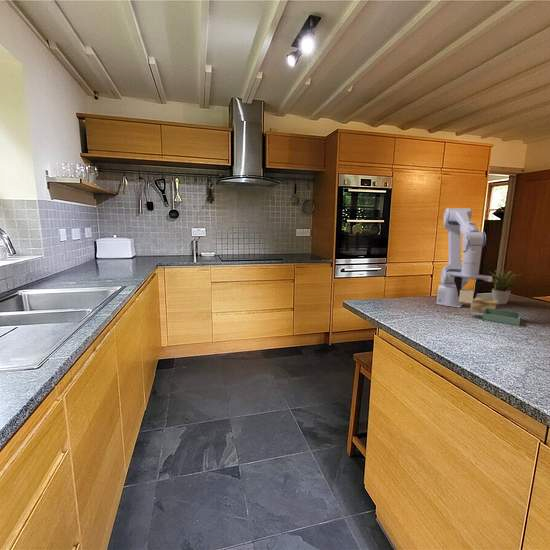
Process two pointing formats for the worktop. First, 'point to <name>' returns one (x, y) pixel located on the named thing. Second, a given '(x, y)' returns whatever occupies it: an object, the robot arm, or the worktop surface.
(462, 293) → the sandstone cube
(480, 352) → the worktop surface
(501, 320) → the tray
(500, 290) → the house plant
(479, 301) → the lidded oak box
